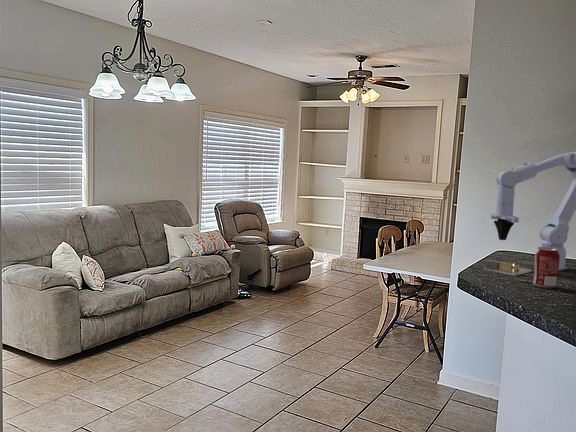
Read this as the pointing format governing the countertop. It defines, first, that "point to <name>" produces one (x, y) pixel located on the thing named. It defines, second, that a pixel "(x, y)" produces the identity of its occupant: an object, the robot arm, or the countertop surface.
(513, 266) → the swing bar
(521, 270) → the plate
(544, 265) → the soda can
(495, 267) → the keeper
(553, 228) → the robot arm
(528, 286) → the countertop surface
